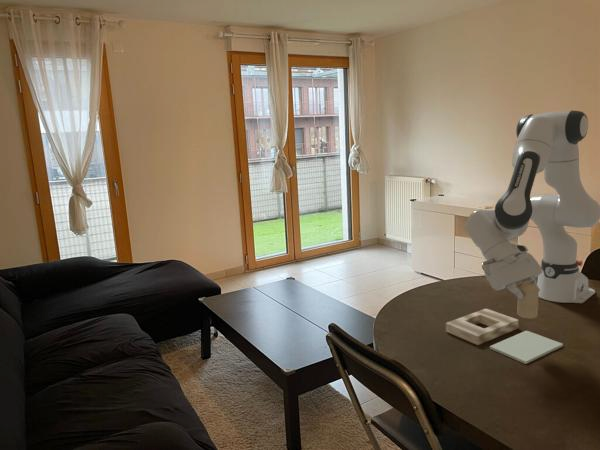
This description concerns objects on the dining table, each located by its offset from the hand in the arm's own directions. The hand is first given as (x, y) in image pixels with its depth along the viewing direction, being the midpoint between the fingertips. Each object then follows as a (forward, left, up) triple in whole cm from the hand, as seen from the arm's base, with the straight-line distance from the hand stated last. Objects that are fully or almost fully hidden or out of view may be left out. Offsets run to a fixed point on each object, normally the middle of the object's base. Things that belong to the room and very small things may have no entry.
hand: (530, 294), depth 138 cm
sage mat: (0, -1, -17) cm, 17 cm away
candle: (0, -1, -7) cm, 7 cm away
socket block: (0, -17, -17) cm, 24 cm away
